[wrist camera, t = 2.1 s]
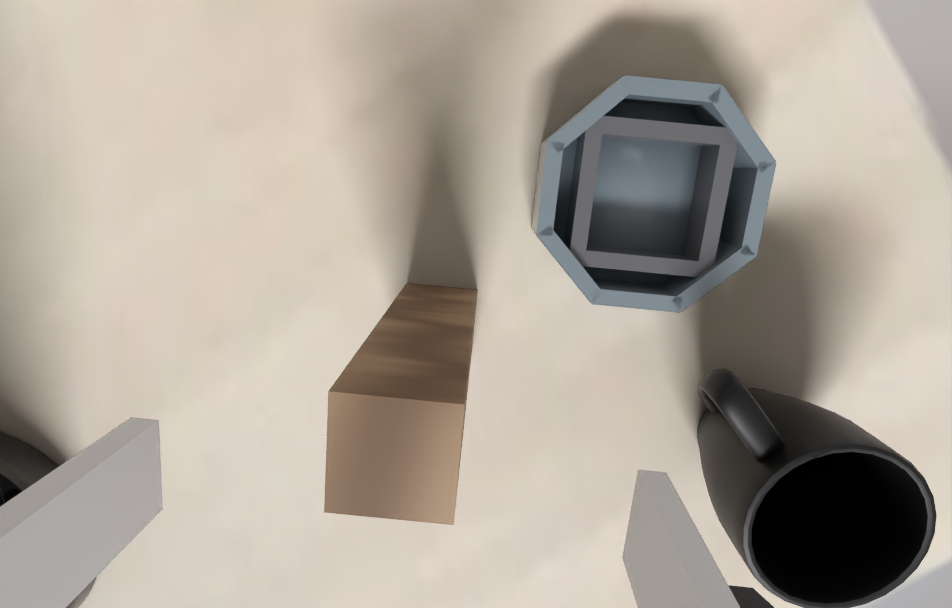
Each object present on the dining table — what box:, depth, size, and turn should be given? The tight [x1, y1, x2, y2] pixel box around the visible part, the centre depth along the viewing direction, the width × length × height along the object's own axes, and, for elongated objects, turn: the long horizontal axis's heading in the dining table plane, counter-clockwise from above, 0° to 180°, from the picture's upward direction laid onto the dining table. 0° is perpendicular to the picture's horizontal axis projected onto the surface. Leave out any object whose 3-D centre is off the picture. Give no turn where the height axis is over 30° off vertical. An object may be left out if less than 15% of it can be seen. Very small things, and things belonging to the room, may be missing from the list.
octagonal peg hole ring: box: [531, 75, 776, 313], centre depth 29 cm, size 11×11×4 cm
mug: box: [698, 368, 936, 608], centre depth 29 cm, size 8×12×10 cm
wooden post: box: [324, 283, 477, 525], centre depth 25 cm, size 4×4×16 cm
